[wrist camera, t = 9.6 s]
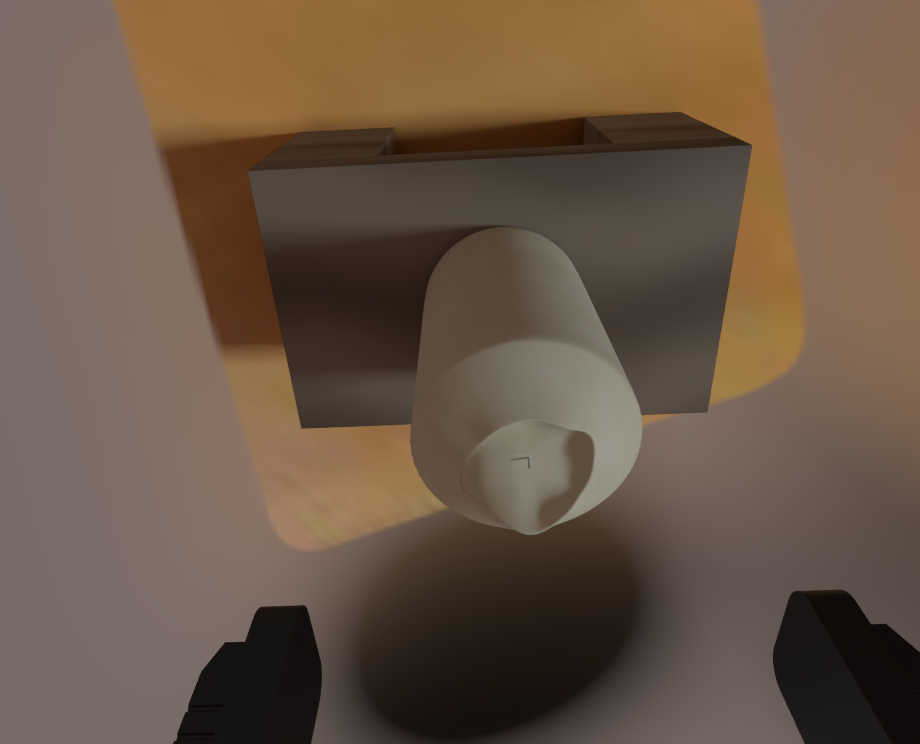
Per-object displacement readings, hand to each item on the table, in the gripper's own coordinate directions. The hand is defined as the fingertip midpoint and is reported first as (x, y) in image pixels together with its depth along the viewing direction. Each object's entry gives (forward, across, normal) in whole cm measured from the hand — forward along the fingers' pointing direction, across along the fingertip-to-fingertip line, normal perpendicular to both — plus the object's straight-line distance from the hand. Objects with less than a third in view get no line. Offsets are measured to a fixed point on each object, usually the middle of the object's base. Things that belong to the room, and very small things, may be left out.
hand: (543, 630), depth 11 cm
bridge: (+21, 0, 0) cm, 21 cm away
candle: (+14, 0, 0) cm, 14 cm away
